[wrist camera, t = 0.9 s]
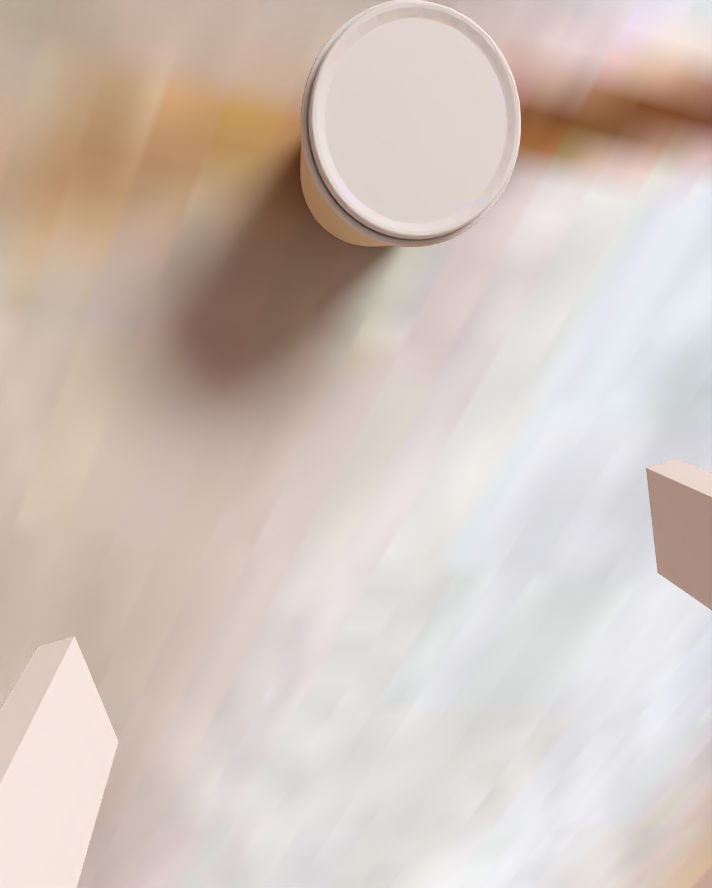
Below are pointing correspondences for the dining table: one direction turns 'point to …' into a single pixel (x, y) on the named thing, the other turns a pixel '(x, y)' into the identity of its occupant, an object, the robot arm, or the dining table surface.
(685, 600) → the dining table surface
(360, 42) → the coffee cup
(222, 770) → the dining table surface
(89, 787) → the robot arm
